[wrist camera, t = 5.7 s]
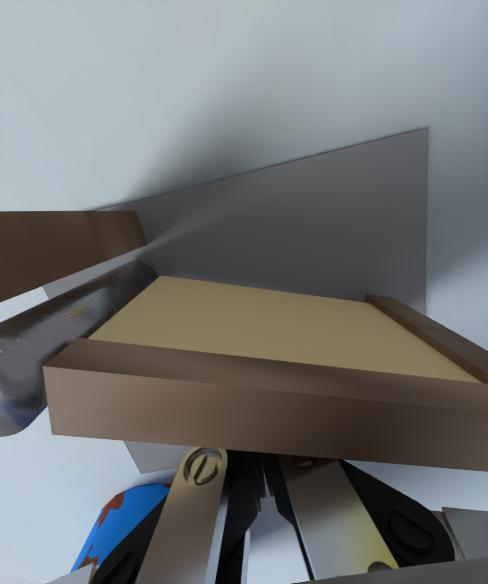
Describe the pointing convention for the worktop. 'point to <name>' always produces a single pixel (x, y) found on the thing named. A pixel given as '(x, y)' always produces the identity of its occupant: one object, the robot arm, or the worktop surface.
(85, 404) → the gate
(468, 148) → the worktop surface
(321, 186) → the gate frame
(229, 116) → the worktop surface
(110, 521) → the thermos
